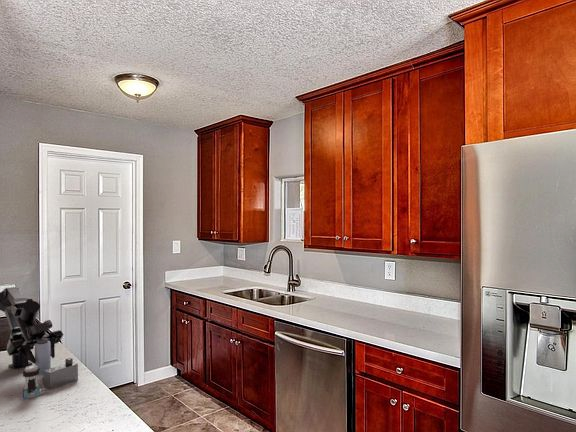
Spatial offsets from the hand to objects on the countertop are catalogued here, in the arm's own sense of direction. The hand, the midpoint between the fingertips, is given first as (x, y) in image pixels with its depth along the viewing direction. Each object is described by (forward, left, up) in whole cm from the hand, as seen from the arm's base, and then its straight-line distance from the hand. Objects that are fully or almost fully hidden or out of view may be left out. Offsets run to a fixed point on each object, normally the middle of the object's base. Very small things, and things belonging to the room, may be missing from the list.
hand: (44, 360), depth 161 cm
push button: (+14, -11, -7) cm, 19 cm away
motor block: (+9, 0, -7) cm, 11 cm away
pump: (-1, 0, -7) cm, 7 cm away
